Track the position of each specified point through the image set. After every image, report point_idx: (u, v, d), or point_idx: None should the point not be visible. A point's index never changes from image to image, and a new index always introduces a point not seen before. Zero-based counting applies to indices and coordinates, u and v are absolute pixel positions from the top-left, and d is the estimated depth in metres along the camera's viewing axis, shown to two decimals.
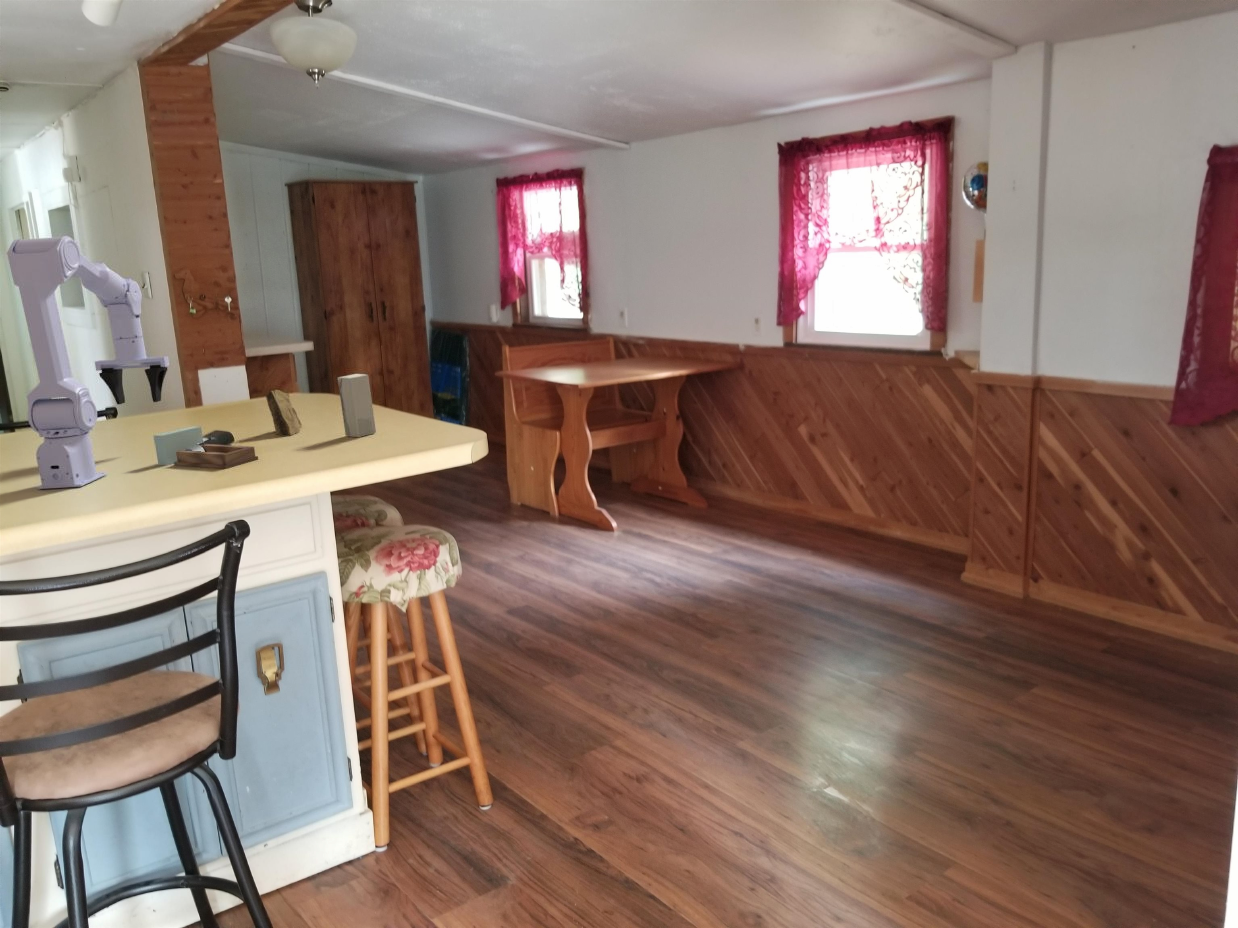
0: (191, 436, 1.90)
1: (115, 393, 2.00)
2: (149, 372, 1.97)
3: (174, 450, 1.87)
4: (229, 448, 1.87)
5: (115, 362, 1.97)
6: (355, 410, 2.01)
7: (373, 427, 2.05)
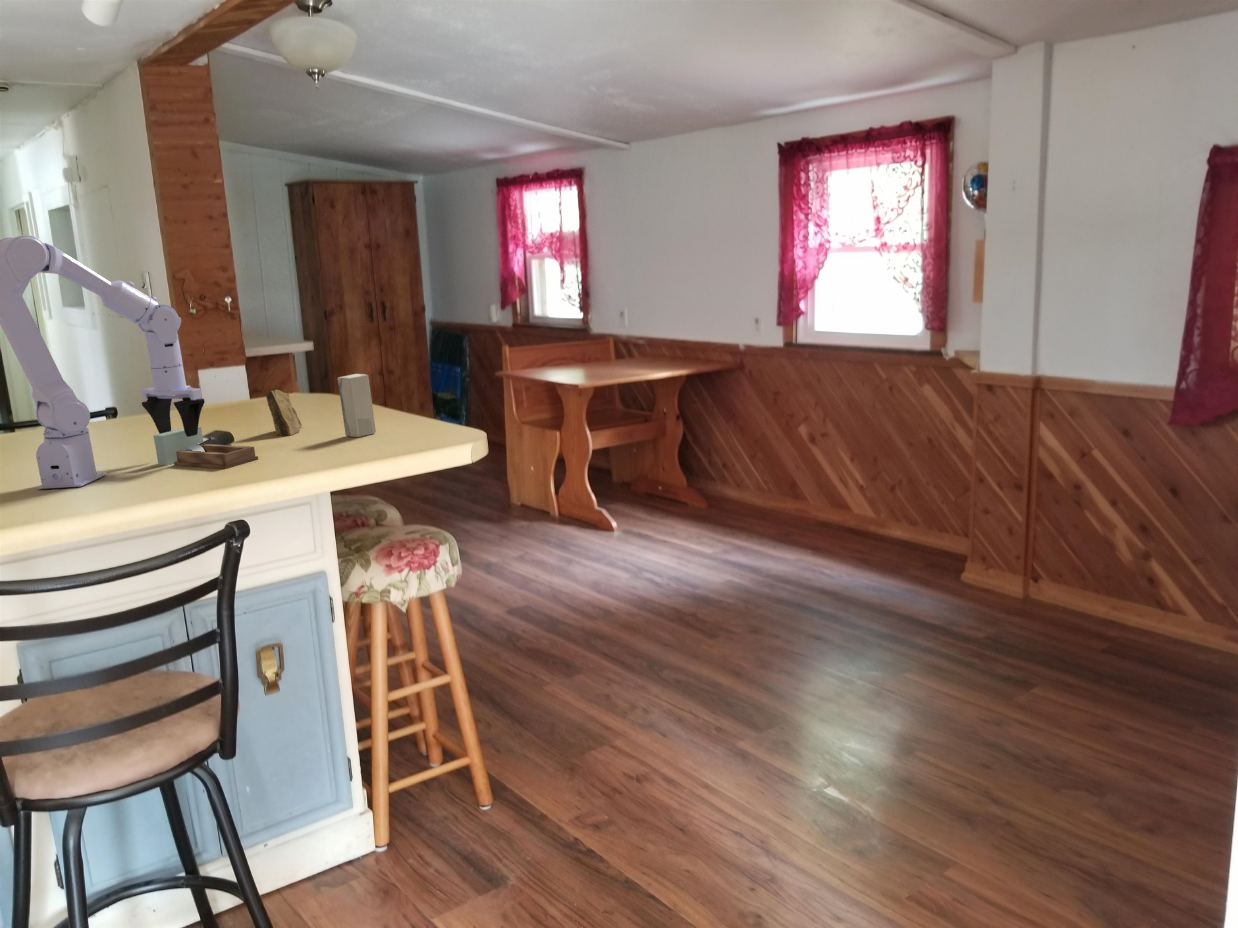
0: (191, 436, 1.90)
1: (157, 424, 1.89)
2: (177, 405, 1.83)
3: (174, 450, 1.87)
4: (229, 448, 1.87)
5: (152, 392, 1.86)
6: (355, 410, 2.01)
7: (373, 427, 2.05)
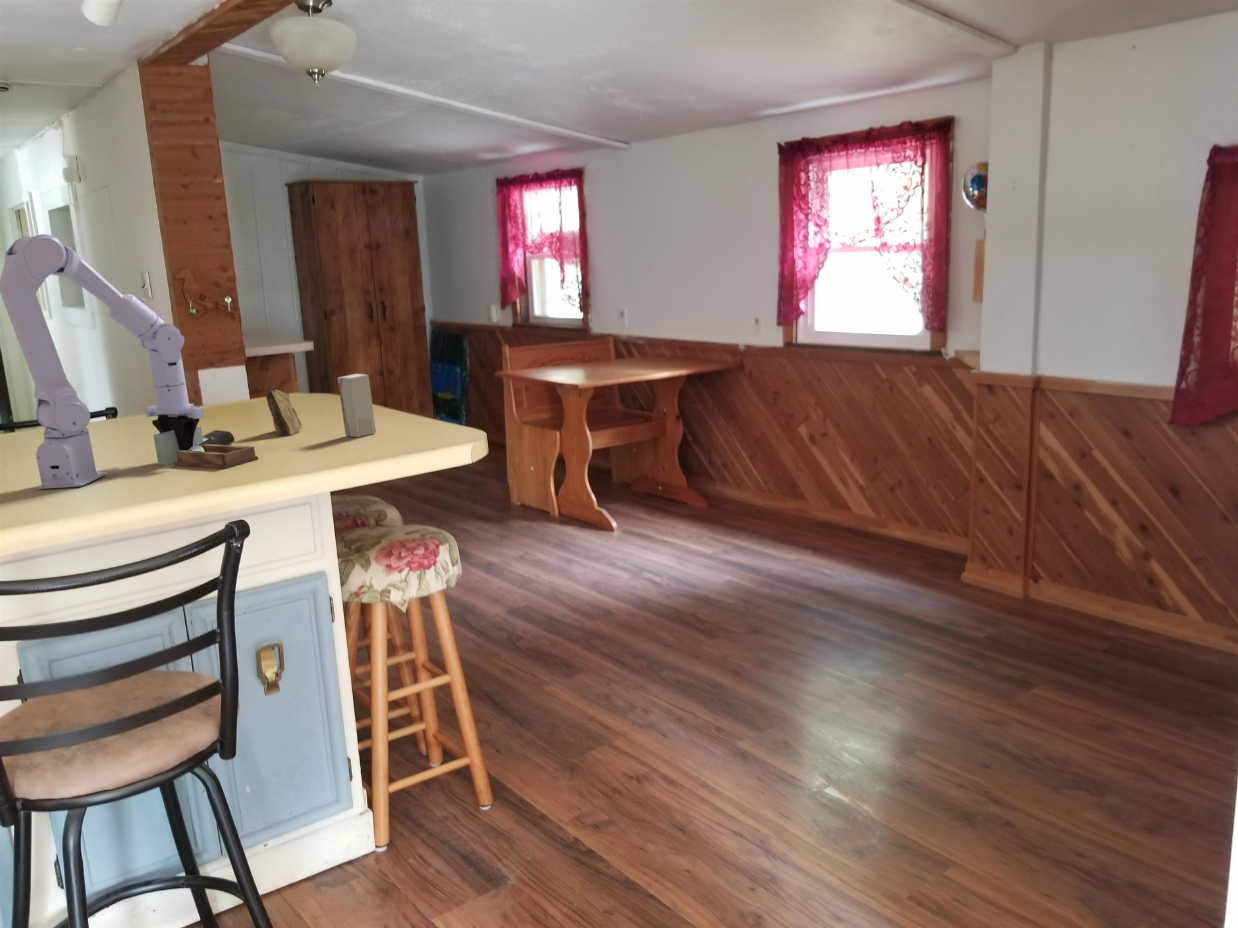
0: None
1: None
2: (172, 423, 1.85)
3: (174, 450, 1.87)
4: (229, 448, 1.87)
5: (155, 410, 1.87)
6: (355, 410, 2.01)
7: (373, 427, 2.05)
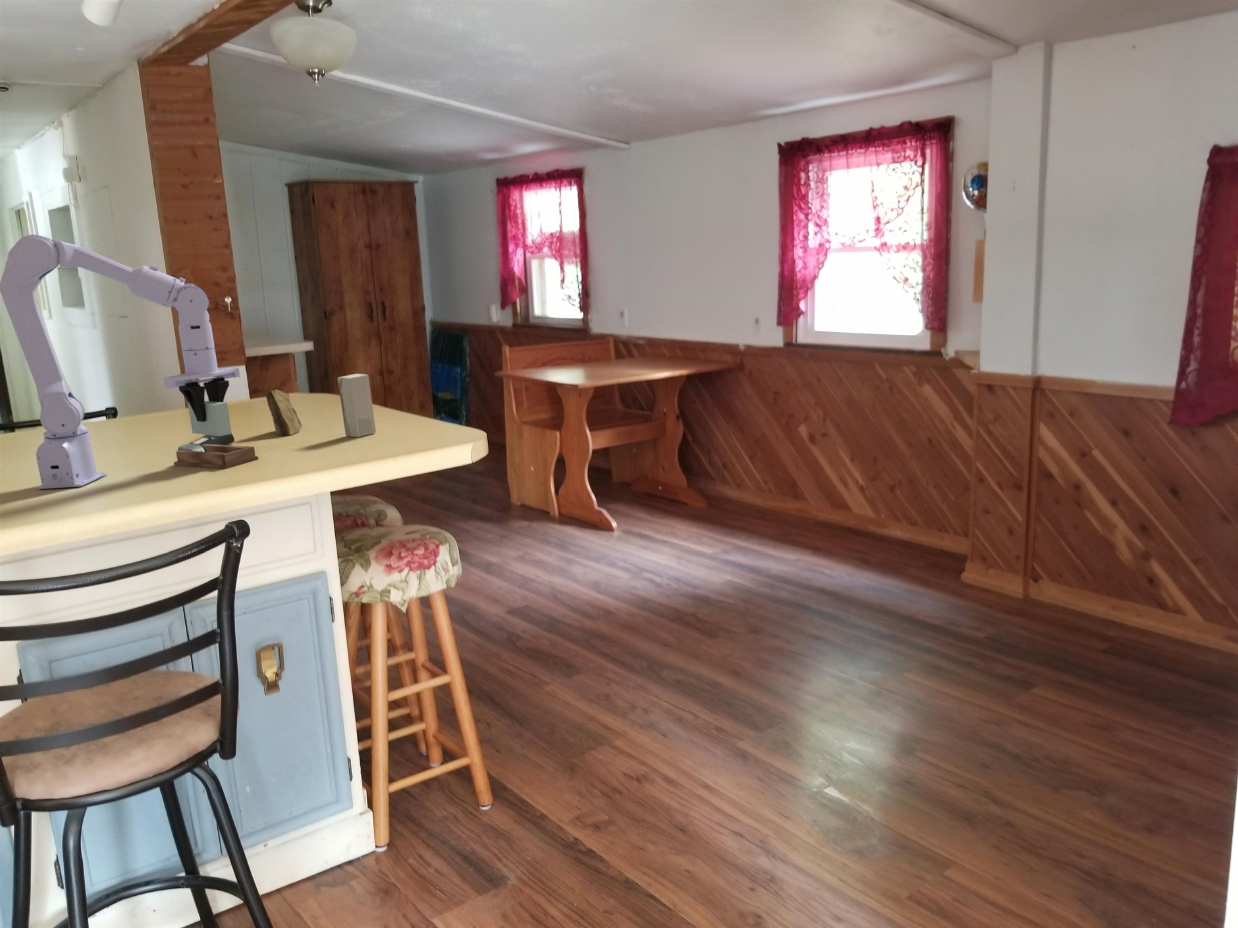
0: None
1: (204, 409, 1.82)
2: (223, 385, 1.83)
3: None
4: (229, 448, 1.87)
5: (199, 375, 1.79)
6: (355, 410, 2.01)
7: (373, 427, 2.05)
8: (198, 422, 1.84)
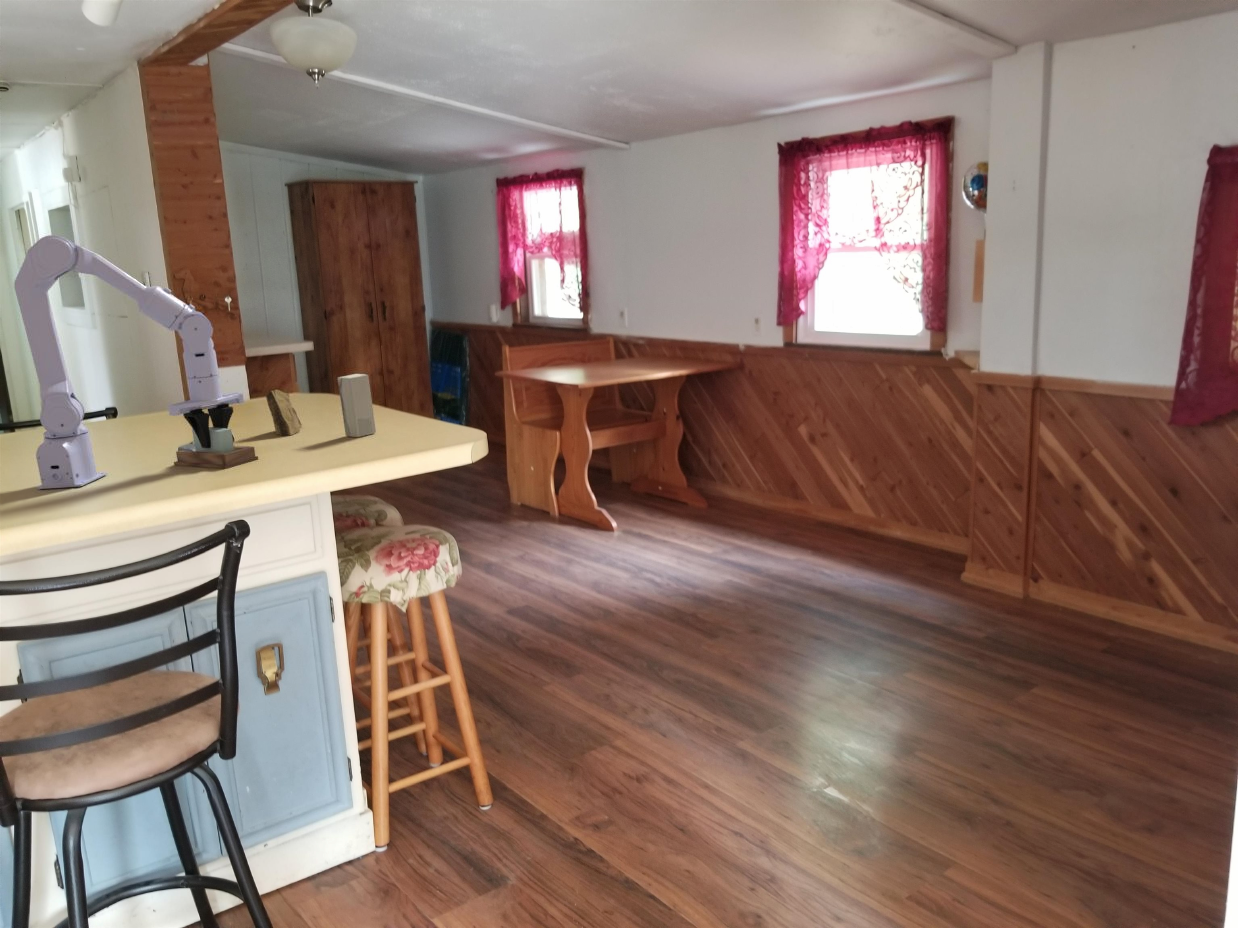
0: None
1: (208, 435, 1.83)
2: (227, 411, 1.84)
3: None
4: None
5: (203, 403, 1.80)
6: (355, 410, 2.01)
7: (373, 427, 2.05)
8: (202, 448, 1.85)
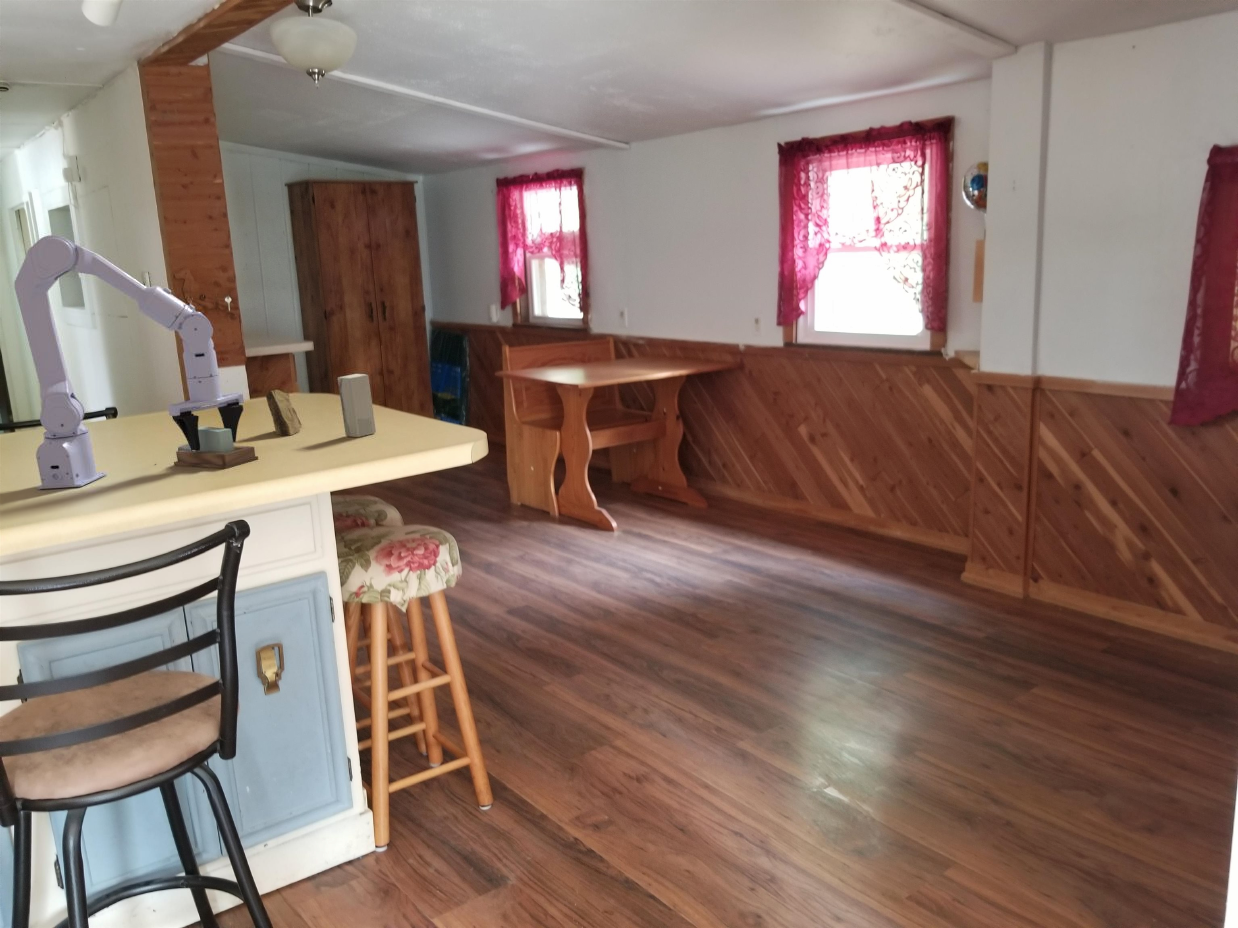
0: None
1: (197, 438, 1.81)
2: (237, 409, 1.86)
3: None
4: None
5: (203, 403, 1.80)
6: (355, 410, 2.01)
7: (373, 427, 2.05)
8: (202, 448, 1.85)
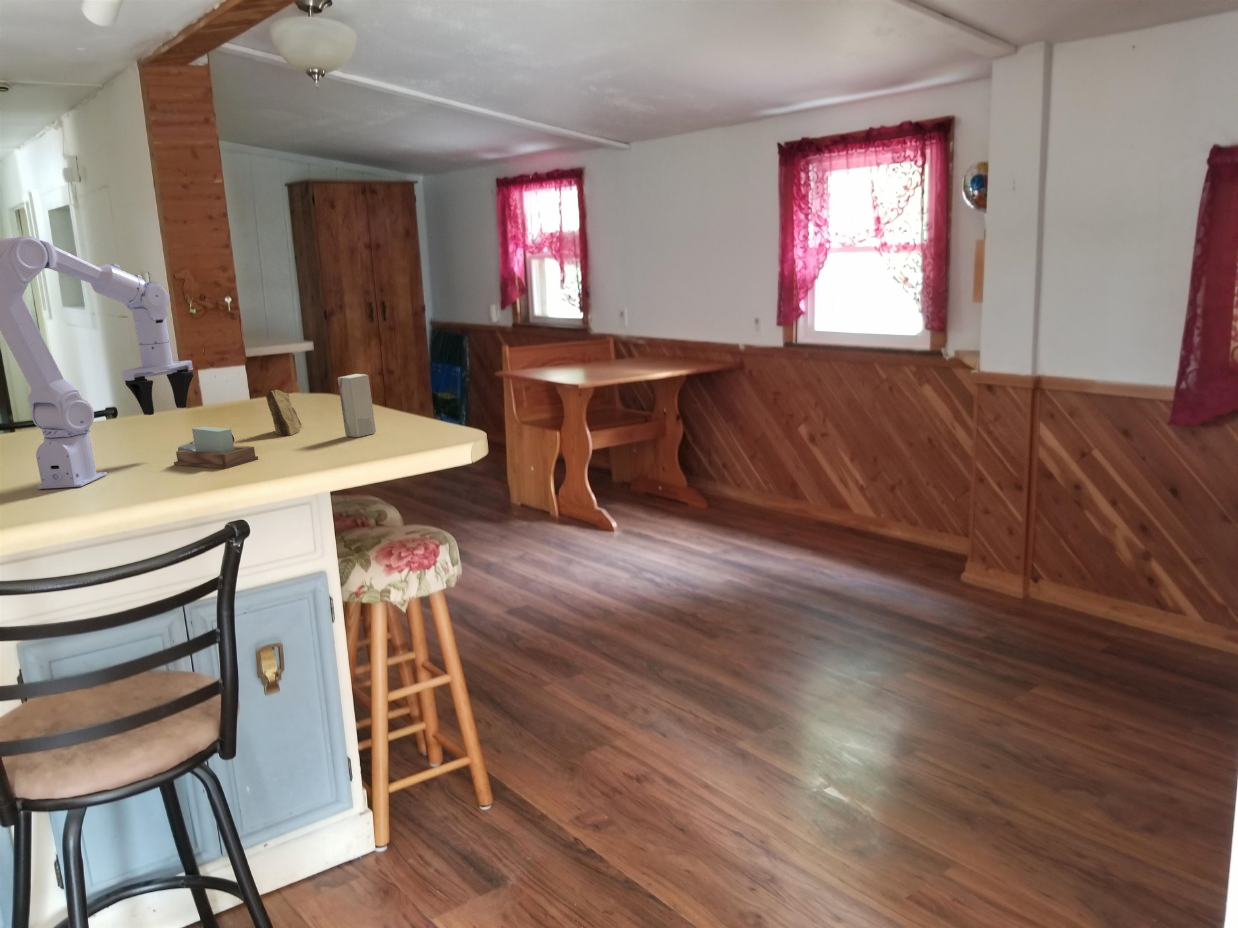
0: None
1: (151, 402, 1.87)
2: (188, 375, 1.93)
3: None
4: None
5: (156, 368, 1.87)
6: (355, 410, 2.01)
7: (373, 427, 2.05)
8: (202, 448, 1.85)
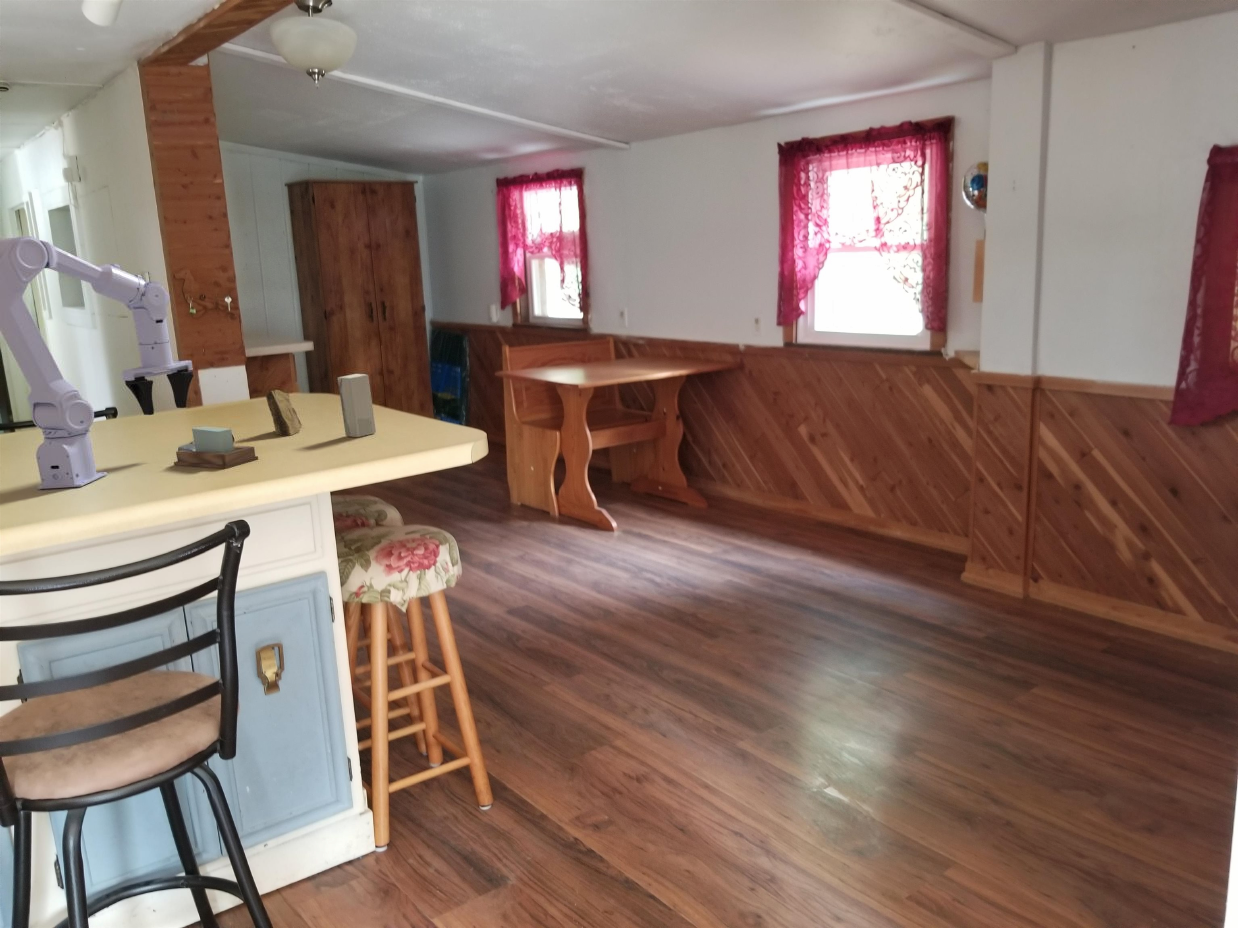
0: None
1: (151, 402, 1.87)
2: (188, 375, 1.93)
3: None
4: None
5: (156, 368, 1.87)
6: (355, 410, 2.01)
7: (373, 427, 2.05)
8: (202, 448, 1.85)
